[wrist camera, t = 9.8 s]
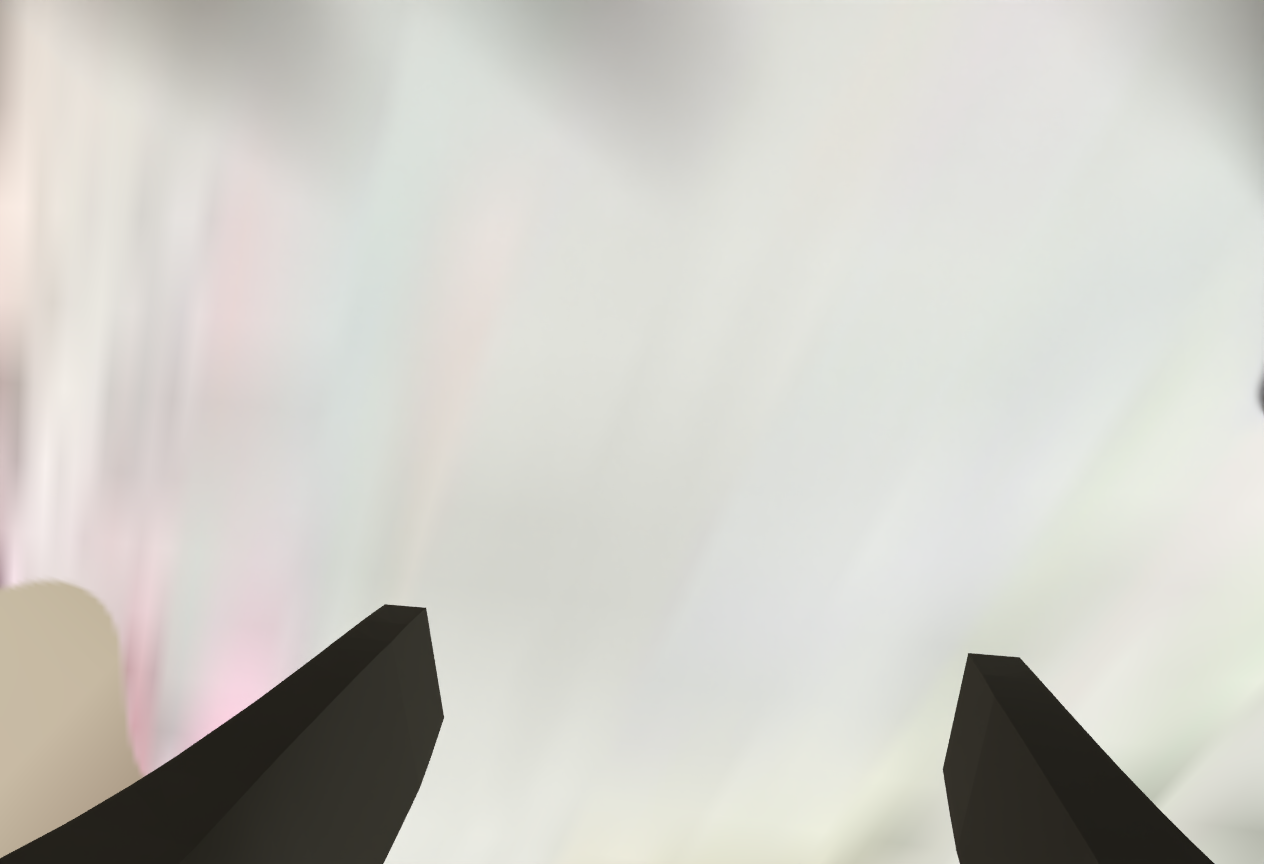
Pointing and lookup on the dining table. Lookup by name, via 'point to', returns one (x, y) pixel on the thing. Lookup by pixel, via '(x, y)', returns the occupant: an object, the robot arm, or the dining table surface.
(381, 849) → the robot arm
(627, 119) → the dining table surface
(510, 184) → the dining table surface
